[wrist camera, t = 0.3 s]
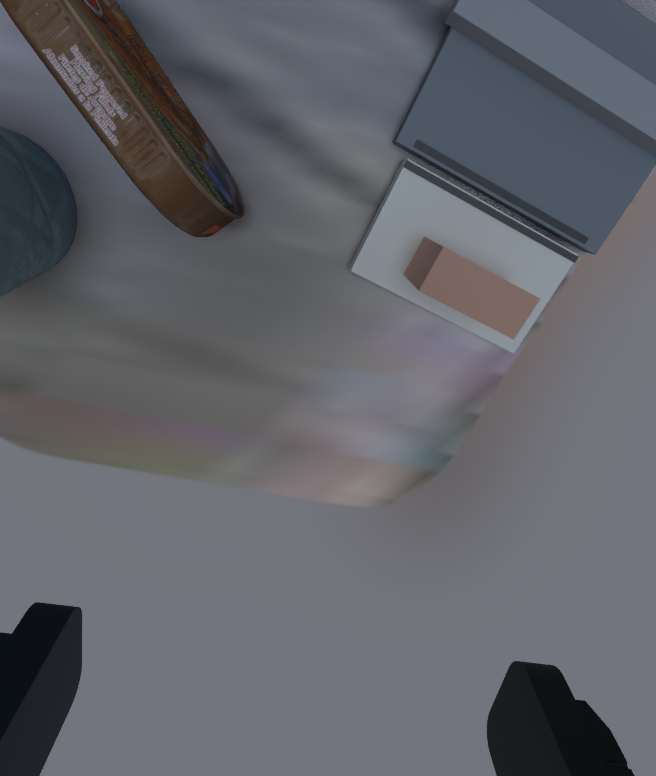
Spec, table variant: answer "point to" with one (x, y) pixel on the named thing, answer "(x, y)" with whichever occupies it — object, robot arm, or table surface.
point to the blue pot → (31, 211)
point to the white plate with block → (460, 257)
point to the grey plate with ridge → (542, 110)
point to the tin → (132, 108)
